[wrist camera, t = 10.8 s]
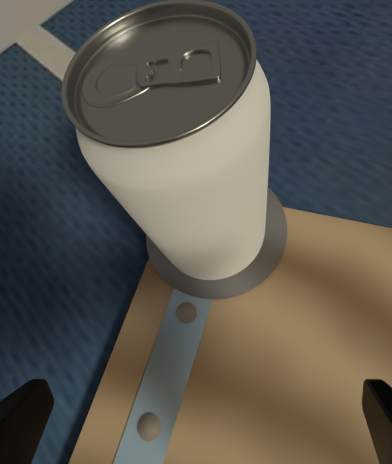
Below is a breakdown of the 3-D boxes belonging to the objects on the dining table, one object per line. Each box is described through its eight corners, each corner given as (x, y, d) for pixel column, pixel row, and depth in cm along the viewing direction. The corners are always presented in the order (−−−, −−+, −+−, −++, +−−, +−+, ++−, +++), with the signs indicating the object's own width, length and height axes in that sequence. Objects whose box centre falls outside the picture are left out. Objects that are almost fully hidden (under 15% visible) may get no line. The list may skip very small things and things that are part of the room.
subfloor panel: (541, 1015, 9) (588, 1121, 8) (0, 613, 15) (-24, 636, 14) (511, 230, 18) (531, 220, 16) (176, 170, 23) (172, 159, 22)
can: (163, 194, 21) (64, 15, 10) (258, 182, 20) (258, -31, 9) (162, 286, 19) (27, 176, 8) (271, 278, 18) (292, 137, 7)
